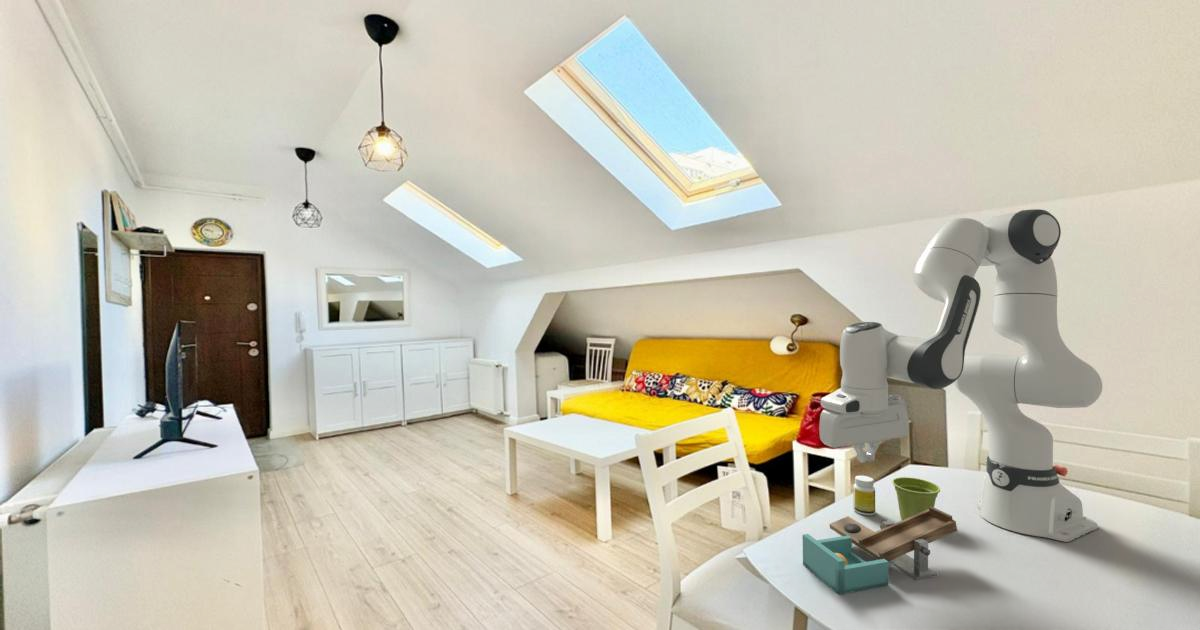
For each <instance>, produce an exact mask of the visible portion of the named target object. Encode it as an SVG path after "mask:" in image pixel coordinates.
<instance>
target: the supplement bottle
mask: <svg viewBox="0 0 1200 630" xmlns="http://www.w3.org/2000/svg"><path fill="white" fill-rule="evenodd" d="M874 484H875V483H874V479H873V478H872V477H870V476H867V475H855V478H854V484H853V486H852V487H853V489H852V490H853V502H852V503H853V505H852V506H853V507H852V508H853V511H854V512H855V513H857V514H858V515H862V516H868V517H869V516H874V515H875V514H876V489H875V485H874Z"/></svg>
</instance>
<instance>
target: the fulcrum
mask: <svg viewBox="0 0 1200 630" xmlns="http://www.w3.org/2000/svg"><path fill="white" fill-rule="evenodd" d="M895 523H896V522H893V521H891V520H888V521H887V520H885V521H882V522H881V524H880V526H879V528H880V530H881V529H883V528H885V527H888V526H890V525H892V524H895ZM929 555H931V550H930V549H929V543H928V542H927V541H926V540H924V539H918V540H914V550H913V558H912V557H911V556H910V555H908V554H907V553H906V554H904V555H902V556H900V557H897V558H895V559H893V560H891V561H888V562H889V564H891V565H892V566H894V567H895V568H896V569H898V570H900V571H901V572H903V573H904V574H906V575H908V576H909V577H911V578H912V579H914V580H915V581H917V580H923V579H929V578H933V577H938V572H936V571H934V570H932V569H931V568H929Z"/></svg>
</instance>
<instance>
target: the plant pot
mask: <svg viewBox="0 0 1200 630" xmlns="http://www.w3.org/2000/svg"><path fill="white" fill-rule="evenodd" d="M891 483H892V484H893V486H894V489H895V491H896V496H897V497H896V498H897V503H898V510H899V517H900V519H901V521H902V520H904V519H906V518H909V517H911V516H913V515H916V514H918V513H920V512H923V511H925V510H927V509H929V507H931V506H932V507H934V508H935V505H936V499H937V497H938V494H939V493H940V492H941V487H940V486H939V485H937V484H936V483H934V482H931V481H929V480H926V479H921V478H917V477H906V476H903V477H895V478H893V479H892V480H891Z"/></svg>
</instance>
